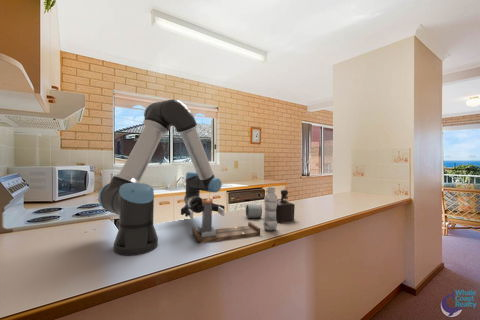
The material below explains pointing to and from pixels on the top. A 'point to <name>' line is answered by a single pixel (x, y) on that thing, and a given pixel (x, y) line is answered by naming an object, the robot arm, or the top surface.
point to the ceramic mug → (253, 211)
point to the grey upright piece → (207, 219)
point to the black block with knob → (284, 208)
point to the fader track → (228, 233)
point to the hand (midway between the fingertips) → (208, 214)
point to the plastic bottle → (270, 209)
